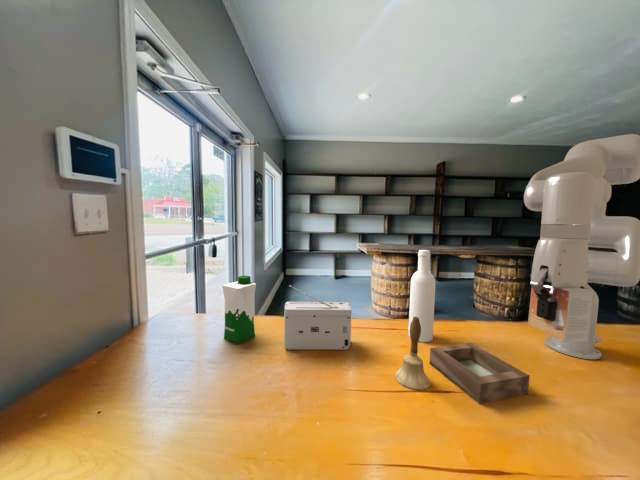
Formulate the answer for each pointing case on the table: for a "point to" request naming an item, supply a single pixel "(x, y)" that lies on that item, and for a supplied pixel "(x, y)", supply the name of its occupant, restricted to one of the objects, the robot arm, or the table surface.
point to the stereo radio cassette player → (317, 325)
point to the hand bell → (413, 363)
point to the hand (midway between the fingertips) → (557, 316)
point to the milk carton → (239, 309)
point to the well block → (479, 372)
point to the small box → (565, 314)
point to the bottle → (423, 297)
